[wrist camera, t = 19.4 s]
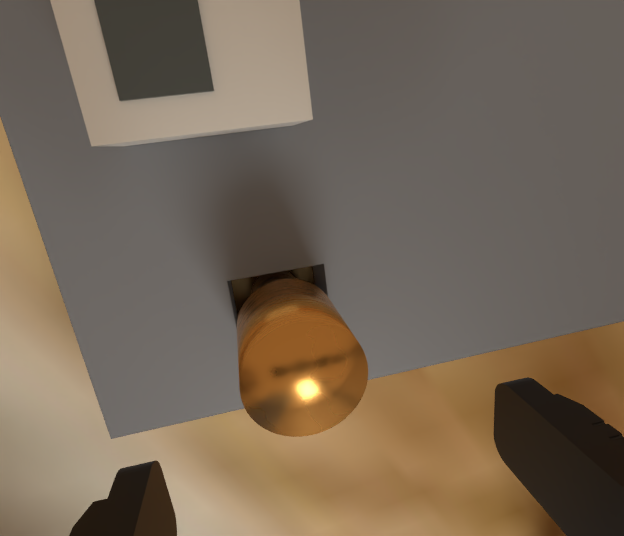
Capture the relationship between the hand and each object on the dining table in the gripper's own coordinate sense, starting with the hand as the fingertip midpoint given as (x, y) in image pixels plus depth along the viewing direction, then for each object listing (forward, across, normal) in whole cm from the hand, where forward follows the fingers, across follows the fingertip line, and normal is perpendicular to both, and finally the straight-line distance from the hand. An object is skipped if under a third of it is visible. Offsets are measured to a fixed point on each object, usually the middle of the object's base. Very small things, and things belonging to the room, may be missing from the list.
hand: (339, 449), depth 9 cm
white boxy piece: (+8, +2, -10) cm, 13 cm away
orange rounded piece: (+11, 0, 0) cm, 11 cm away
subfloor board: (+11, -6, -5) cm, 13 cm away
